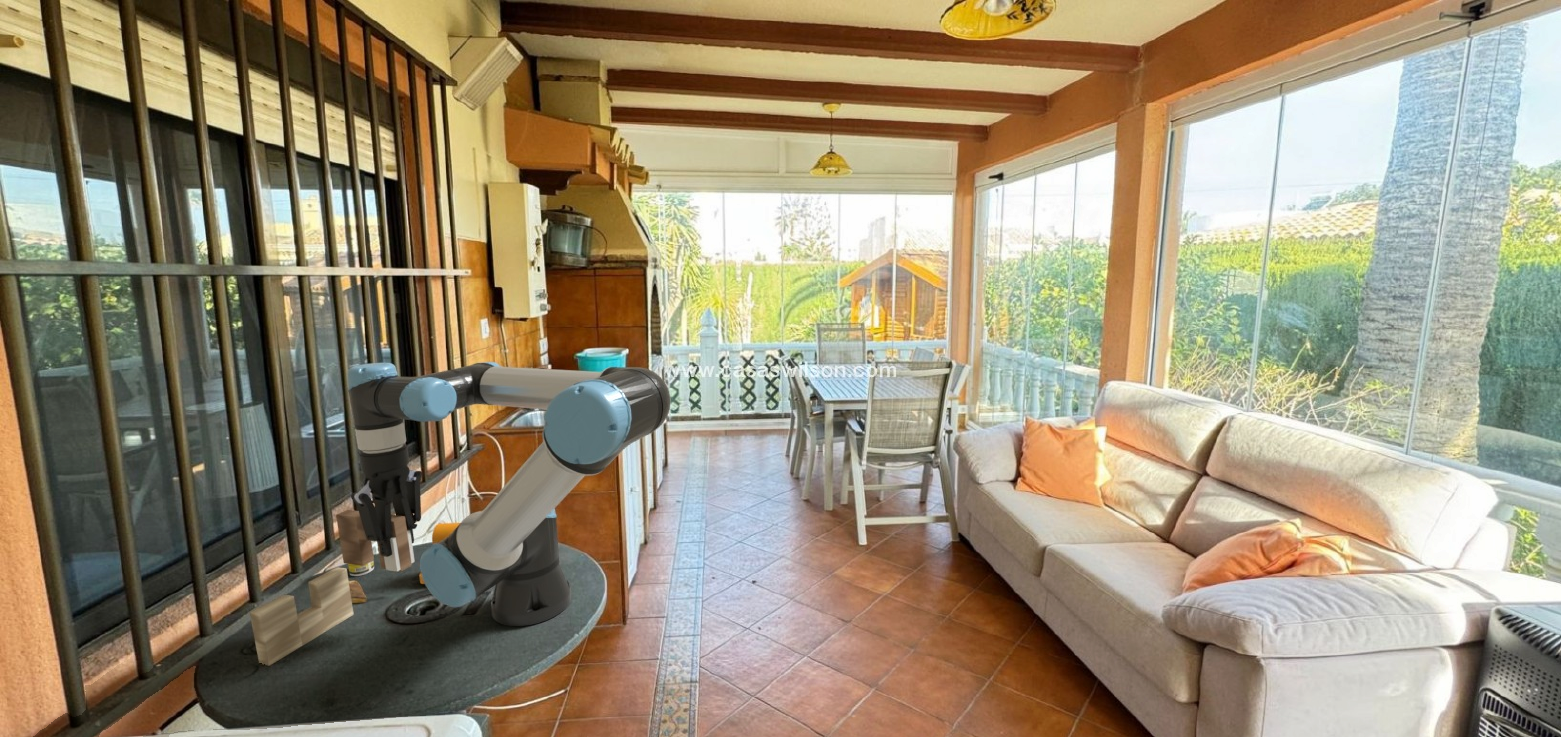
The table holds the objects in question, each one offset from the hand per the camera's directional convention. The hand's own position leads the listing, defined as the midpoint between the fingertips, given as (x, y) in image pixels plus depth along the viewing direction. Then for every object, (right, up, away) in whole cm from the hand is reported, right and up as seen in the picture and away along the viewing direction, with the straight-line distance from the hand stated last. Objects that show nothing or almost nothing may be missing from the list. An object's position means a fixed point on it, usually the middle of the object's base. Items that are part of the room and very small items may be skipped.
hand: (400, 565), depth 117 cm
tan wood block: (-5, 0, +2) cm, 6 cm away
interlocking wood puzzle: (-16, -13, -1) cm, 21 cm away
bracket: (-3, -9, +22) cm, 24 cm away
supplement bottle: (-23, -9, +23) cm, 34 cm away
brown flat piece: (-19, -11, +14) cm, 26 cm away
